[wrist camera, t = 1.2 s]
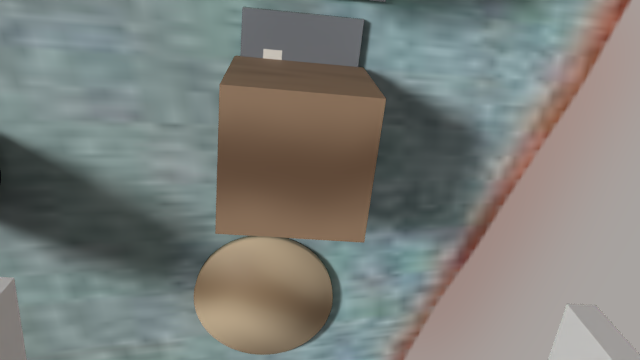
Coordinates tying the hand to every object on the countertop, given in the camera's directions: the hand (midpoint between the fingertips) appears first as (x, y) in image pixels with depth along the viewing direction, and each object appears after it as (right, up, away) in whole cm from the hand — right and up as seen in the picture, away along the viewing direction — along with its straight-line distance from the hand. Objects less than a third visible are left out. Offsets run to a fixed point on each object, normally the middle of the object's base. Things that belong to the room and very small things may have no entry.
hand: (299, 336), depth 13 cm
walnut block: (-1, +7, +17) cm, 18 cm away
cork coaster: (-3, -4, +22) cm, 22 cm away
